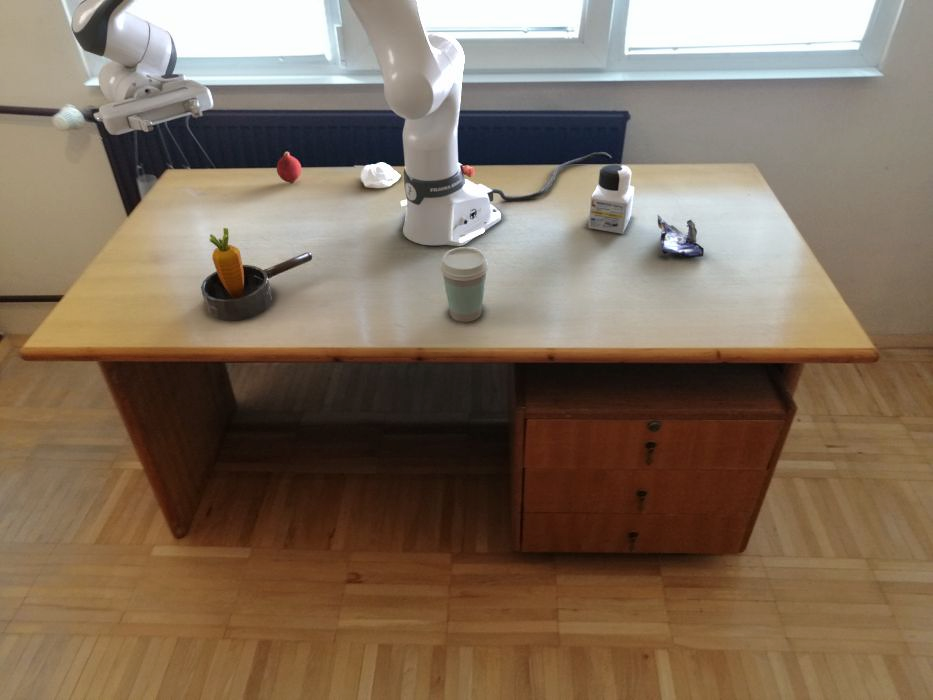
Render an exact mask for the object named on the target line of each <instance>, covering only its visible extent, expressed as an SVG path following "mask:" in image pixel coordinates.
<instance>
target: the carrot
mask: <svg viewBox="0 0 933 700" xmlns="http://www.w3.org/2000/svg"><path fill="white" fill-rule="evenodd" d="M222 229H223V235H222V238H217V237H216V236H215V235H214V234H213V233H211V234H209V242H210V243H212V244H213V245H214V246H215V247H216V248H215V249H214V250H213V253H212V256H211V258H212V261H213V264H214V268H215V270H216V271H217V273H218V276H219V278H220V280H221V282H222V284H223V285H224V287H225V289H226V290H227V291H228V292H229V294H230V295H232V296H233V297H234V298H235V299H237V298H241V295H242V292H243V287H244V270H243V265H244V264H243V260H242V255H241V251H240V249H239V248H238V247H236V246H234V245H232V244H229V238H230V237H229V229H228V227H223V228H222ZM216 271H215V272H216Z"/></svg>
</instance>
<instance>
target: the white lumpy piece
mask: <svg viewBox="0 0 933 700" xmlns="http://www.w3.org/2000/svg"><path fill="white" fill-rule="evenodd" d="M400 178H401V174H400V173H398V171H396V170H394V169H393V167H392V166H391V165H390V164H387V163H386V162H383V161H382V162H377V163H375V164H373V163H372V164H366V165H365V166H364V167H363V168H362V169H361V171H360V180H361V182H362V183H363V186H364V187H365V188H368V189H369V188H370V189H385V188H389V187H391V186H392V185H394V184H395V183H397V182H398V181H399V179H400Z"/></svg>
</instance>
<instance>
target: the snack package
mask: <svg viewBox="0 0 933 700" xmlns="http://www.w3.org/2000/svg"><path fill="white" fill-rule="evenodd" d="M676 220H677V221H678V219H676ZM686 224H687V225H686V227H687V228H688V229H687V234H686V233H683V232H681V231H680V230H679V229H678V228H677V227H676V226H674V224H673V225H672V224H671V225H670V224H669V223H668V222H667V221H665V220H664V219H663V218H662V217H661V216H660V215H659V214H657V226H658V228H659V229H658V230H659V231H660V233H661V235H660V243H661V250H662V254H663V255H667V254H678V255H680V258H682V259H684V258H688V259H691V258H693V259H694V258H697V257H703V256H704V255H705V250H704V247H702V245H700V244H699V243H697V233H698V231H697V228H696V224H695V222H694V221H692V219H689V220H687V221H686ZM663 258H665V256H663ZM678 258H679V257H678Z"/></svg>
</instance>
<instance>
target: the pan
mask: <svg viewBox="0 0 933 700" xmlns="http://www.w3.org/2000/svg"><path fill="white" fill-rule="evenodd" d="M242 265H243V270H244V287H243V292H242V295H241V298H237V299H235V298H234V297H233V296H232V295H230V294H229V292H228V291H227V290H226V289H225V287H224V285H223V284H222V282H221V280H220V278H219V276H218V273H217V271H214V272H212V273H210V274H209V275H207V276H206V277H205V279H204V280H203V281H202V283H201V287H200V290H201V294H202V297H203V301H204V304H205V307H206V310H207V312H208V314H209V315H210V316H211V317H213V318H214V319H217V320H220V321H225V322H235V321H242V320H243V321H244V320H246V319H250V318H253V317H256V316H257V315H260V314H261V313H262V312H264V311H265V310H266V309H267V308H268V307H269V306H270V304H271V303H272V301H273V294H272V293H273V292H272V289H271V285H270V281H269V279H268V277H267V274H266V272H265V271H263V270H264V269H262V268H261V267H258V266H255V265H249V264H242ZM259 272H260V273H261V274H260V273H259ZM260 275H261V276H262V277H263V278H262V277H260Z"/></svg>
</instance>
